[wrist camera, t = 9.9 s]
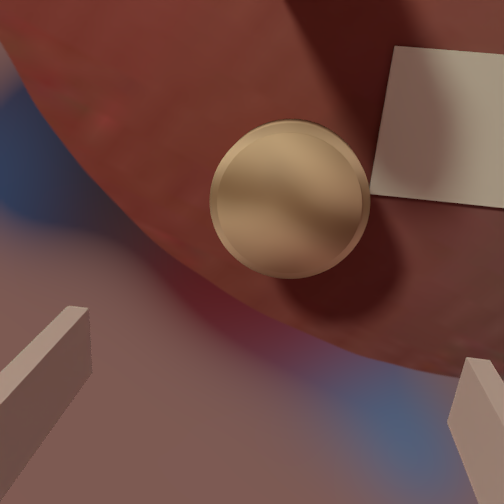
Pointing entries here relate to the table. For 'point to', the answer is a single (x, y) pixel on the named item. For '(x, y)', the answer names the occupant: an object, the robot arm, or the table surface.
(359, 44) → the table surface
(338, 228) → the brass lid
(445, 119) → the silicone mat
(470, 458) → the robot arm
